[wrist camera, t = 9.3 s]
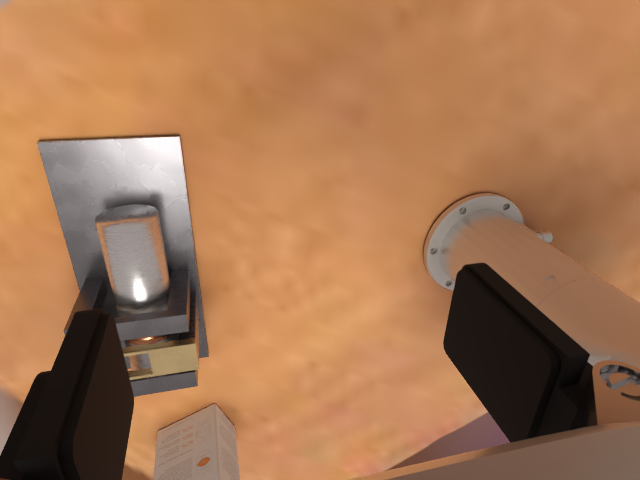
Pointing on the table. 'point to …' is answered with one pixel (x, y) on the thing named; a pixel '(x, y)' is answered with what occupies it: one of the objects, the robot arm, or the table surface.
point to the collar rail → (173, 207)
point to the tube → (136, 267)
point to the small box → (198, 448)
